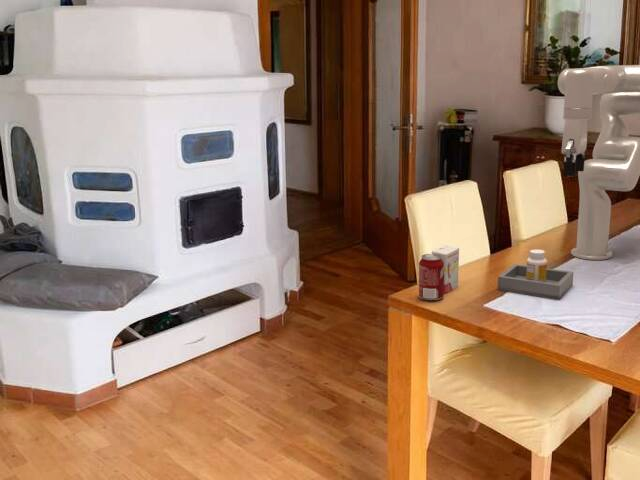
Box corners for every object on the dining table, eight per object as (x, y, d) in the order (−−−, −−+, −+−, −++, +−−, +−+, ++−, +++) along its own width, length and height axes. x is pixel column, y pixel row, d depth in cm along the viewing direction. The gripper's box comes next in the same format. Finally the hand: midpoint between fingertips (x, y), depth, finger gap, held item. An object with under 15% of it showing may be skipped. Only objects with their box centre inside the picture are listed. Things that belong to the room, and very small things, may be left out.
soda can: (438, 303, 178) (438, 261, 175) (415, 299, 181) (415, 258, 178) (447, 296, 183) (448, 254, 180) (424, 292, 187) (425, 251, 184)
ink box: (445, 294, 185) (446, 254, 182) (429, 291, 188) (430, 251, 185) (459, 286, 191) (460, 246, 188) (443, 283, 194) (444, 244, 191)
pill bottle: (545, 281, 189) (547, 249, 187) (545, 287, 184) (547, 254, 182) (526, 280, 191) (527, 248, 189) (525, 286, 186) (527, 253, 184)
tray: (513, 276, 198) (514, 263, 197) (572, 285, 188) (573, 272, 187) (497, 290, 187) (498, 276, 186) (559, 300, 177) (560, 285, 176)
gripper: (571, 111, 197) (568, 168, 202) (555, 116, 184) (552, 177, 188) (598, 111, 193) (594, 169, 198) (583, 116, 180) (579, 178, 184)
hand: (573, 173), depth 193 cm, fingers open, 9 cm apart
